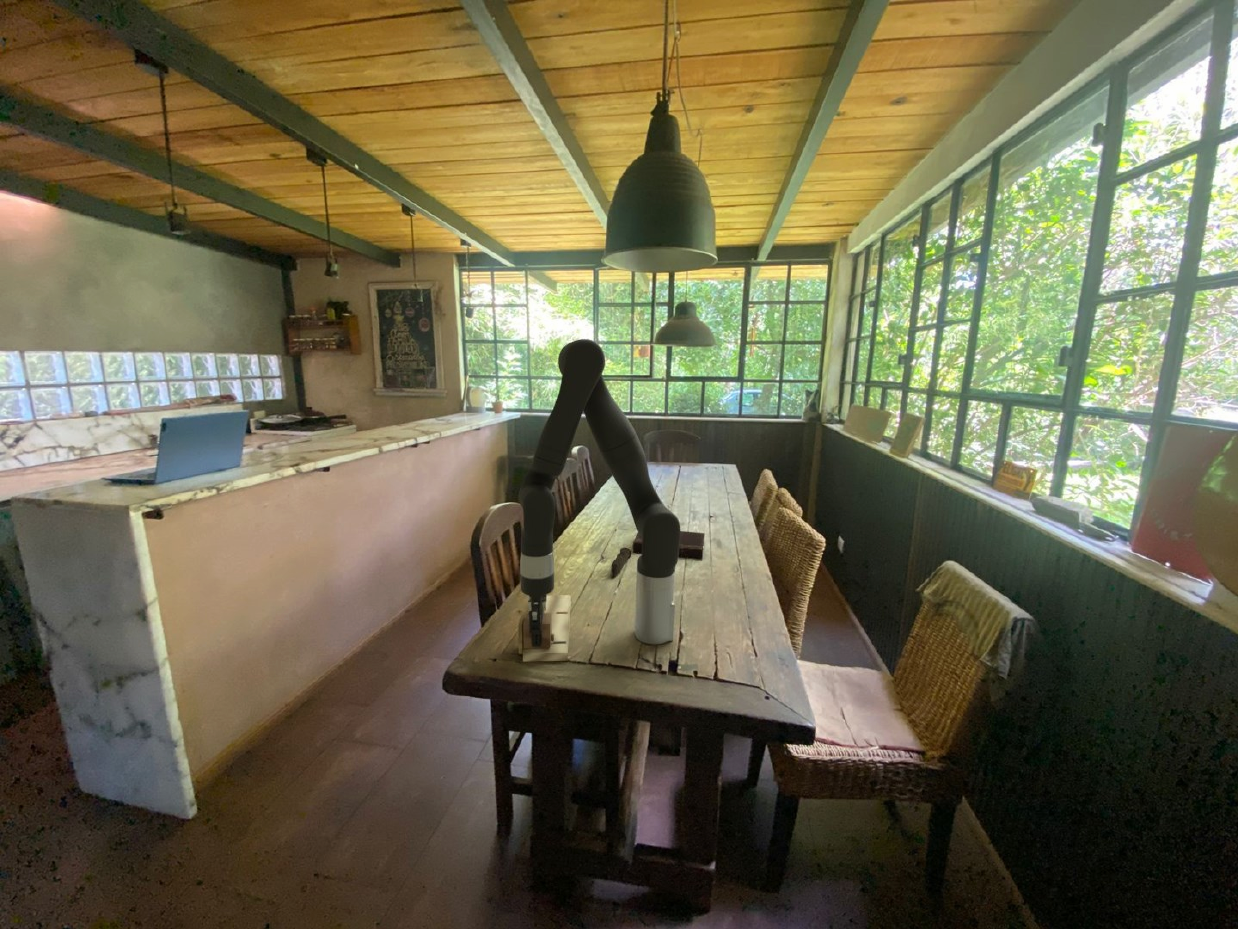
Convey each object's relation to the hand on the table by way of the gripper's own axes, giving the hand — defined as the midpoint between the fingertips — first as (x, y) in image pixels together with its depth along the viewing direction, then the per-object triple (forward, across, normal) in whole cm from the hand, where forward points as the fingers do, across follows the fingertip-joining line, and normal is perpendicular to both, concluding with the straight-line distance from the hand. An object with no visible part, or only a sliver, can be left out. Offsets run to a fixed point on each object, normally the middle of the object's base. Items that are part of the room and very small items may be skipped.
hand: (537, 638), depth 111 cm
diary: (+4, +66, -43) cm, 79 cm away
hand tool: (+4, +48, -23) cm, 53 cm away
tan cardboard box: (+2, 0, 0) cm, 2 cm away
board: (+3, +10, -2) cm, 11 cm away
